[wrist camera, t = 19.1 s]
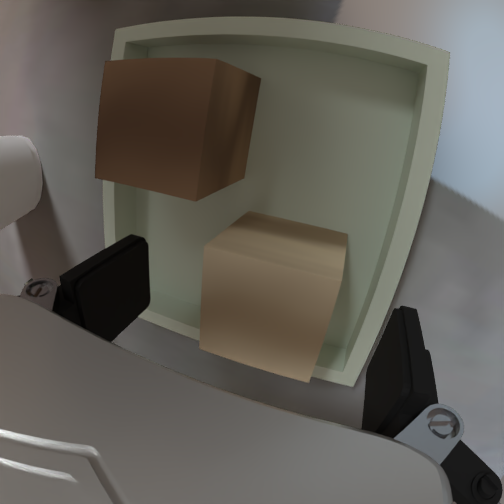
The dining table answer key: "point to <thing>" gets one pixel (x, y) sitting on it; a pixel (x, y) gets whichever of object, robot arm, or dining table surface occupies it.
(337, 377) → the tray
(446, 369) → the dining table surface
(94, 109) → the dining table surface
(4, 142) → the foam cup
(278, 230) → the maple block
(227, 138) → the walnut block
